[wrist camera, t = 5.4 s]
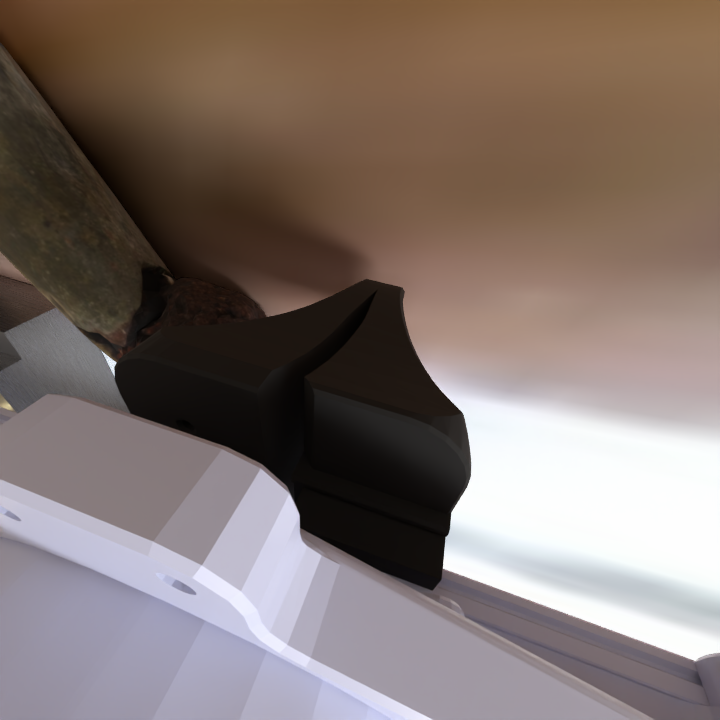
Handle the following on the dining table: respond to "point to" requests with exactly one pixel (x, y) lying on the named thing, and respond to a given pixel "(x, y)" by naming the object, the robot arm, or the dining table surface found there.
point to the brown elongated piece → (87, 235)
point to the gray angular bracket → (47, 353)
